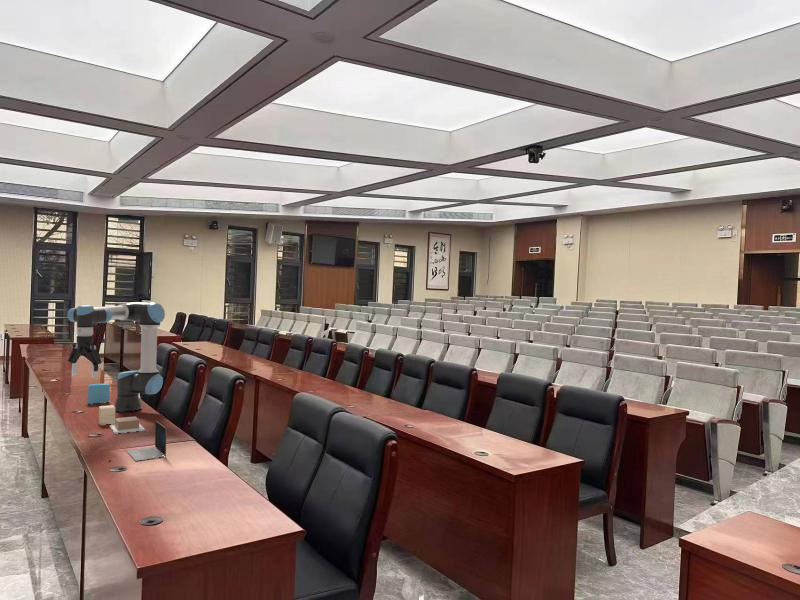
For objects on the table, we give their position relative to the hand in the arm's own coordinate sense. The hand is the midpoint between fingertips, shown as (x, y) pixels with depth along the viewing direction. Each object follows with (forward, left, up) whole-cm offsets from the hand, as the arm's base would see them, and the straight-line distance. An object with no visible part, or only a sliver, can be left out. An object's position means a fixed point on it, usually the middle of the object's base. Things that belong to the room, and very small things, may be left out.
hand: (84, 376), depth 304 cm
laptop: (+28, +60, -28) cm, 71 cm away
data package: (-58, -43, -28) cm, 78 cm away
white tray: (-9, +19, -27) cm, 34 cm away
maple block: (-15, +1, -27) cm, 31 cm away
